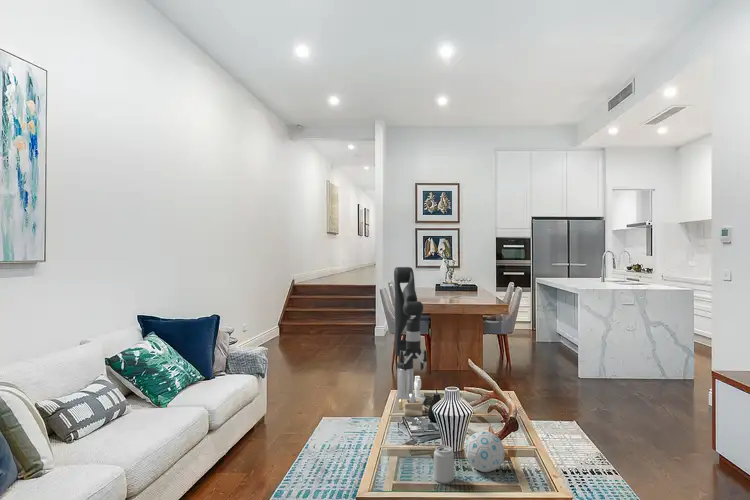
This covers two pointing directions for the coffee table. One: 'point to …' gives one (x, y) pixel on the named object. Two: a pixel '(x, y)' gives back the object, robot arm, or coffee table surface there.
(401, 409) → the short pin
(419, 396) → the figurine
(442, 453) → the can
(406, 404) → the hole block
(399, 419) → the coffee table surface
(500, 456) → the puzzle ball
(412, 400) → the long pin
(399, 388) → the robot arm
